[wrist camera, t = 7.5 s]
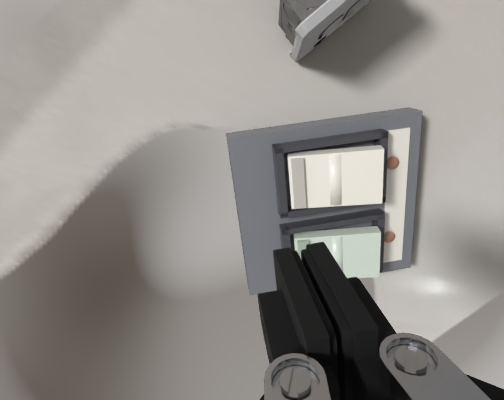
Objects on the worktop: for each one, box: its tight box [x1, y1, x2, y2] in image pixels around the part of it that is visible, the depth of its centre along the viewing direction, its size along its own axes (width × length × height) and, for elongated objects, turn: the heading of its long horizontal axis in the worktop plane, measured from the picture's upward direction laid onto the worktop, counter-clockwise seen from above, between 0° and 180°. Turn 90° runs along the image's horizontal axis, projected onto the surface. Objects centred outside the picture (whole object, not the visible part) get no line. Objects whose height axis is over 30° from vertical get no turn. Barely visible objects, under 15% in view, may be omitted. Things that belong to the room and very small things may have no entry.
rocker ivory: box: [288, 145, 384, 209], centre depth 35 cm, size 9×6×2 cm, turn 97°
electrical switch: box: [279, 0, 371, 62], centre depth 29 cm, size 9×5×9 cm, turn 128°
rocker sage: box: [294, 226, 381, 278], centre depth 39 cm, size 9×6×2 cm, turn 97°
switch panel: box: [226, 108, 422, 295], centre depth 39 cm, size 20×19×4 cm
